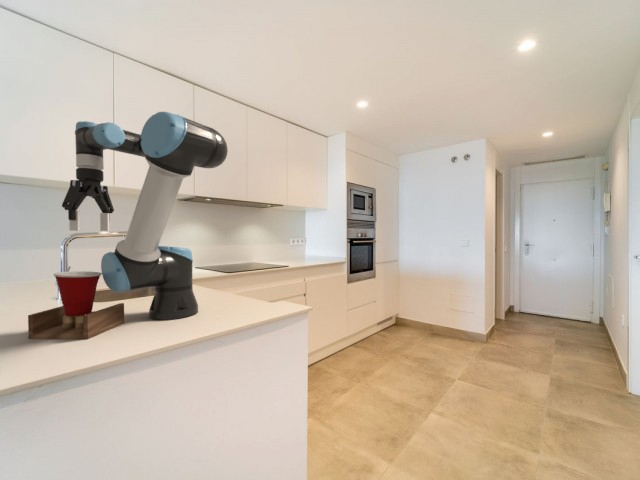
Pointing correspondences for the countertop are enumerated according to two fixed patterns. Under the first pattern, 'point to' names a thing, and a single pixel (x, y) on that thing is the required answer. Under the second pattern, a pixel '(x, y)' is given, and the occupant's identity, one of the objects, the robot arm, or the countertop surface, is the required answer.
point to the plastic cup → (77, 291)
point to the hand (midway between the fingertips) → (90, 230)
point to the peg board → (90, 323)
